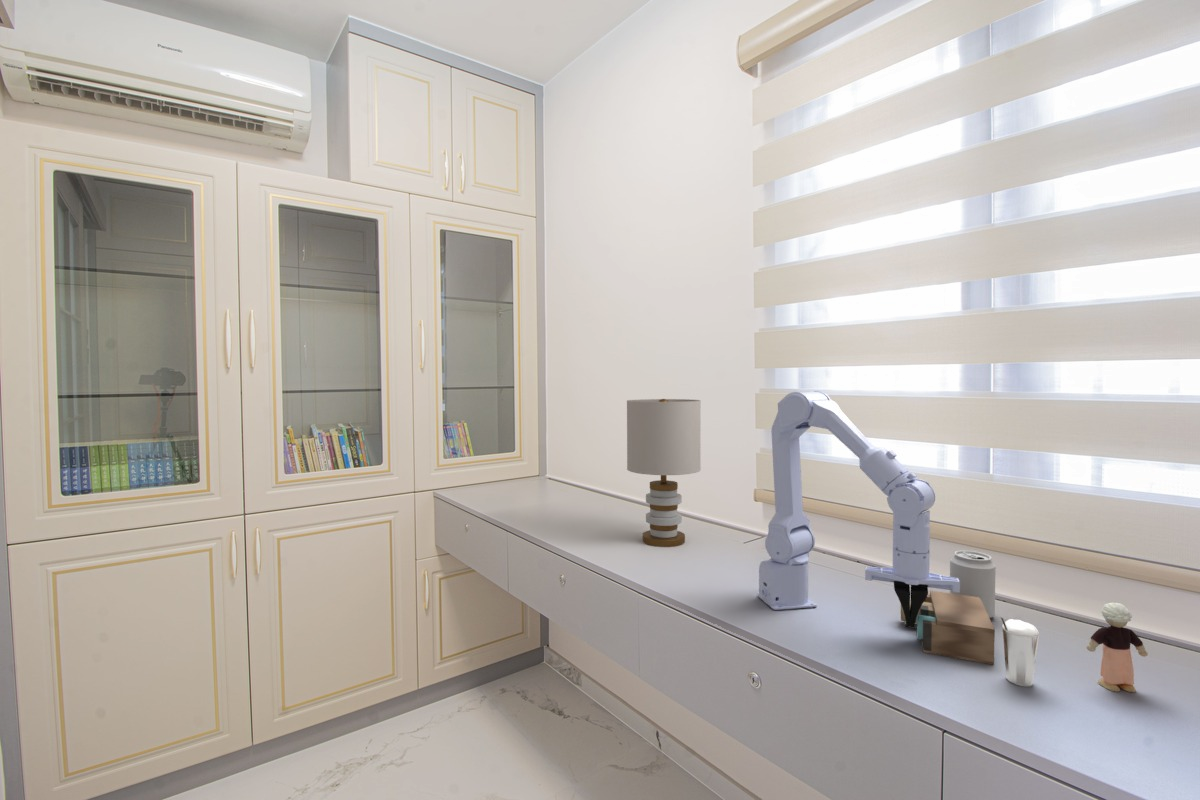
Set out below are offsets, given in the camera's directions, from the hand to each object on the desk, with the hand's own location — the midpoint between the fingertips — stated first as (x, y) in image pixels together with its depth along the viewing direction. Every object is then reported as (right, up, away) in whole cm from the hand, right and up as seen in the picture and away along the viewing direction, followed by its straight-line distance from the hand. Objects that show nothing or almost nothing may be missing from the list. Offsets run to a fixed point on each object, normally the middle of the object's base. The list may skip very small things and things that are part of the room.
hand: (910, 625), depth 100 cm
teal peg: (+6, -2, -3) cm, 7 cm away
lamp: (-37, -1, +63) cm, 73 cm away
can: (+18, -3, +11) cm, 21 cm away
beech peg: (+7, -2, +5) cm, 8 cm away
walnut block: (+8, -3, 0) cm, 8 cm away
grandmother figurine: (+22, -3, -15) cm, 27 cm away
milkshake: (+9, -3, -14) cm, 17 cm away
